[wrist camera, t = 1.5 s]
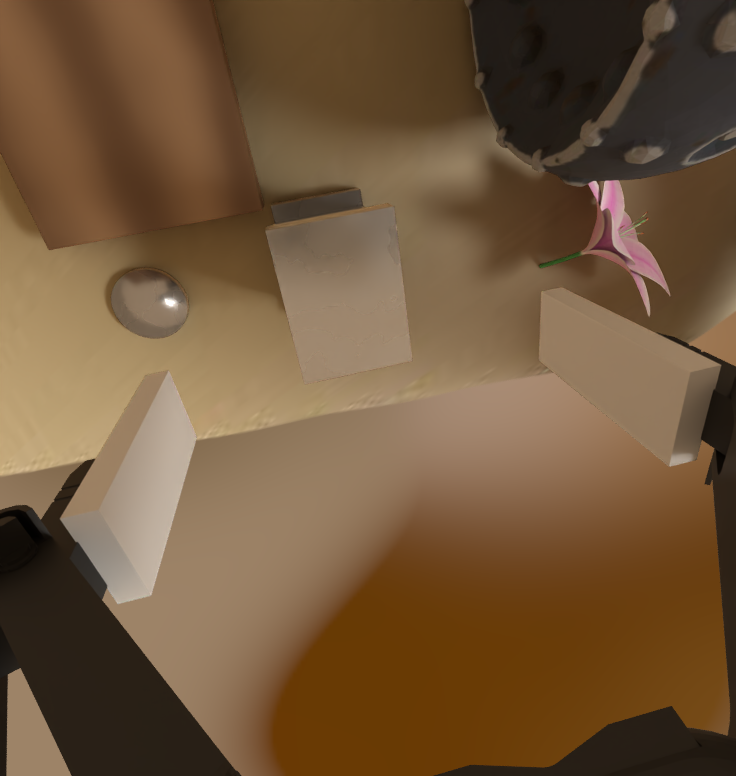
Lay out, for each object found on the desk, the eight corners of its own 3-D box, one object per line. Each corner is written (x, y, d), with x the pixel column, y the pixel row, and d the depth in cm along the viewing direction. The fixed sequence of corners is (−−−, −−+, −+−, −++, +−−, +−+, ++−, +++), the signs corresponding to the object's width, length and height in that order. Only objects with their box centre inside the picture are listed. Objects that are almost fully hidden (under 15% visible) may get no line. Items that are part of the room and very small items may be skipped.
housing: (356, 187, 31) (394, 206, 21) (374, 298, 35) (412, 361, 24) (271, 203, 31) (265, 230, 20) (298, 313, 35) (304, 384, 24)
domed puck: (175, 260, 32) (172, 263, 31) (199, 326, 34) (197, 330, 33) (103, 274, 31) (98, 277, 30) (132, 339, 34) (128, 344, 33)
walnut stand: (200, -49, 24) (190, -74, 22) (264, 205, 31) (262, 210, 28) (-50, -14, 23) (-92, -34, 21) (69, 241, 30) (48, 250, 27)
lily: (615, 299, 40) (742, 276, 31) (523, 352, 35) (642, 344, 27) (575, 164, 37) (700, 99, 29) (471, 204, 33) (583, 141, 24)
